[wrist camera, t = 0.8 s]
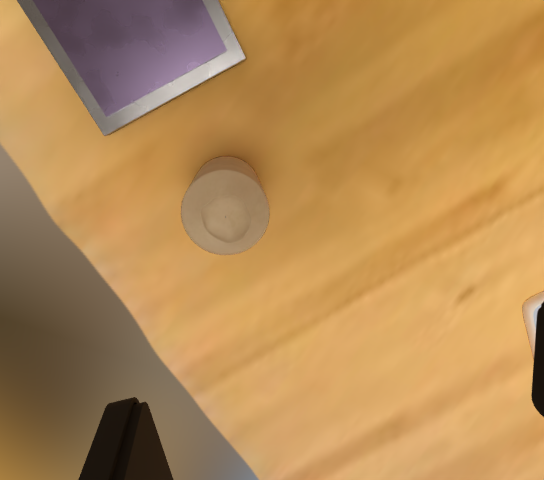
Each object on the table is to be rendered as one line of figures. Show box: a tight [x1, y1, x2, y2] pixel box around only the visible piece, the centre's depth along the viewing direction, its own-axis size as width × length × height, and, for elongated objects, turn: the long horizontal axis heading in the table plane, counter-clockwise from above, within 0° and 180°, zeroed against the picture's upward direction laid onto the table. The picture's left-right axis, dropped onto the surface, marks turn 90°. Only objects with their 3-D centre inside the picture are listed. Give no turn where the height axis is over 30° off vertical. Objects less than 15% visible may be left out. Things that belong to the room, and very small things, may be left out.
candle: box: [181, 156, 270, 255], centre depth 27 cm, size 6×6×10 cm
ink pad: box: [17, 0, 246, 136], centre depth 26 cm, size 12×12×2 cm
